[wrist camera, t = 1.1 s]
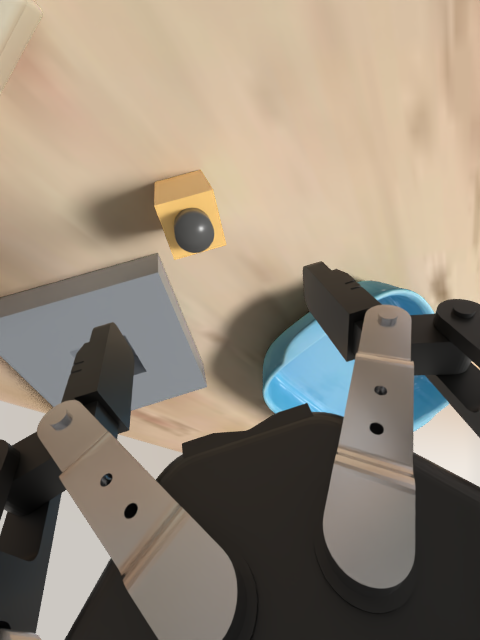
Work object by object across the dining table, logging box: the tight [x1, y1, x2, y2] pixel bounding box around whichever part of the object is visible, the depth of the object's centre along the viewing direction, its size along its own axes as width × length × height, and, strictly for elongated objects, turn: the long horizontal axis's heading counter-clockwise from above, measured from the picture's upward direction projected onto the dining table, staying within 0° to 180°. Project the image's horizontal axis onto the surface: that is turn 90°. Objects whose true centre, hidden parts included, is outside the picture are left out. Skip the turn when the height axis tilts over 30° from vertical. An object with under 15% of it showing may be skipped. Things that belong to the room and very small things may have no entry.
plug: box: [154, 170, 226, 260], centre depth 23 cm, size 4×4×8 cm
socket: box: [0, 253, 207, 410], centre depth 31 cm, size 16×16×4 cm
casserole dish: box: [262, 281, 449, 432], centre depth 42 cm, size 37×22×7 cm, turn 40°
